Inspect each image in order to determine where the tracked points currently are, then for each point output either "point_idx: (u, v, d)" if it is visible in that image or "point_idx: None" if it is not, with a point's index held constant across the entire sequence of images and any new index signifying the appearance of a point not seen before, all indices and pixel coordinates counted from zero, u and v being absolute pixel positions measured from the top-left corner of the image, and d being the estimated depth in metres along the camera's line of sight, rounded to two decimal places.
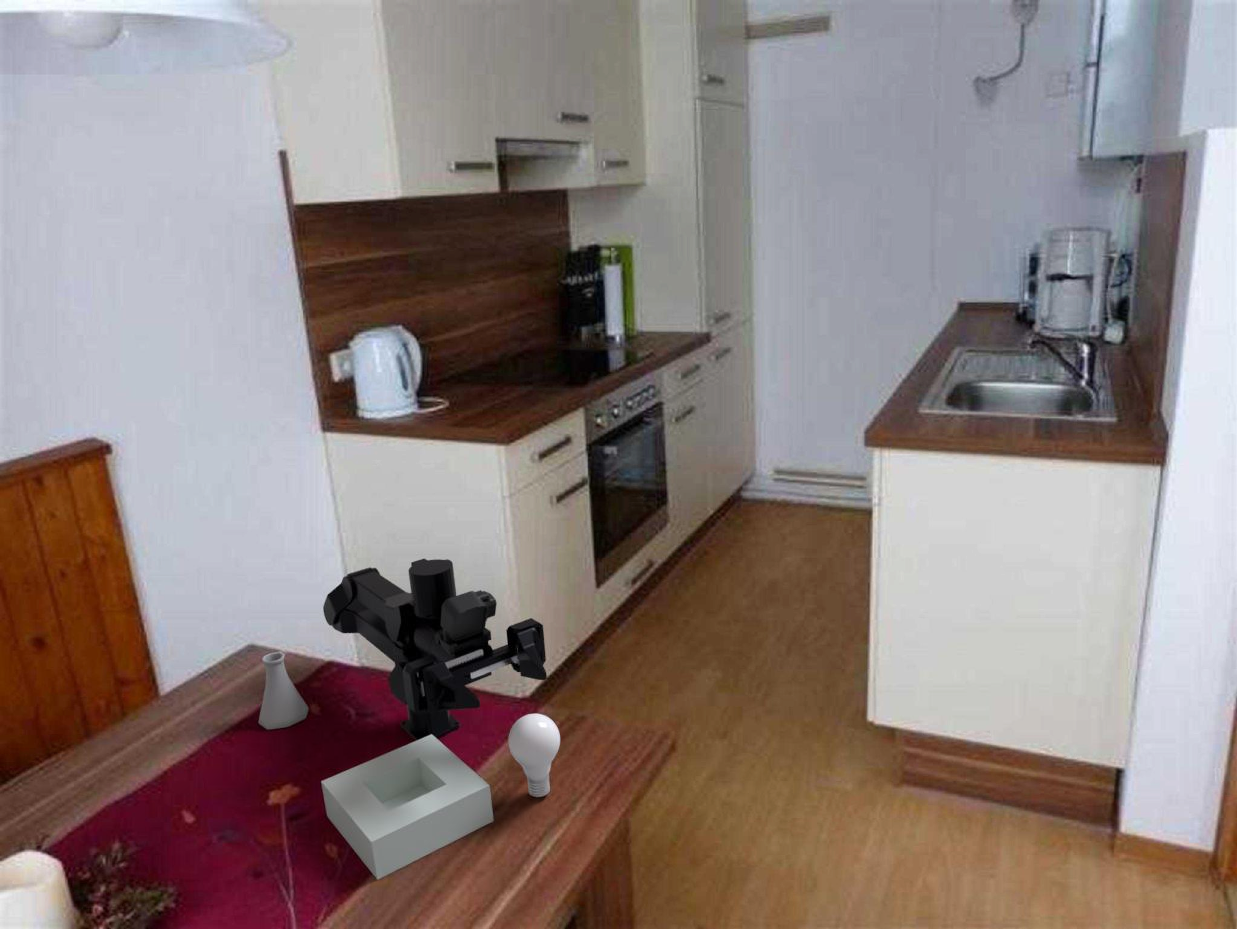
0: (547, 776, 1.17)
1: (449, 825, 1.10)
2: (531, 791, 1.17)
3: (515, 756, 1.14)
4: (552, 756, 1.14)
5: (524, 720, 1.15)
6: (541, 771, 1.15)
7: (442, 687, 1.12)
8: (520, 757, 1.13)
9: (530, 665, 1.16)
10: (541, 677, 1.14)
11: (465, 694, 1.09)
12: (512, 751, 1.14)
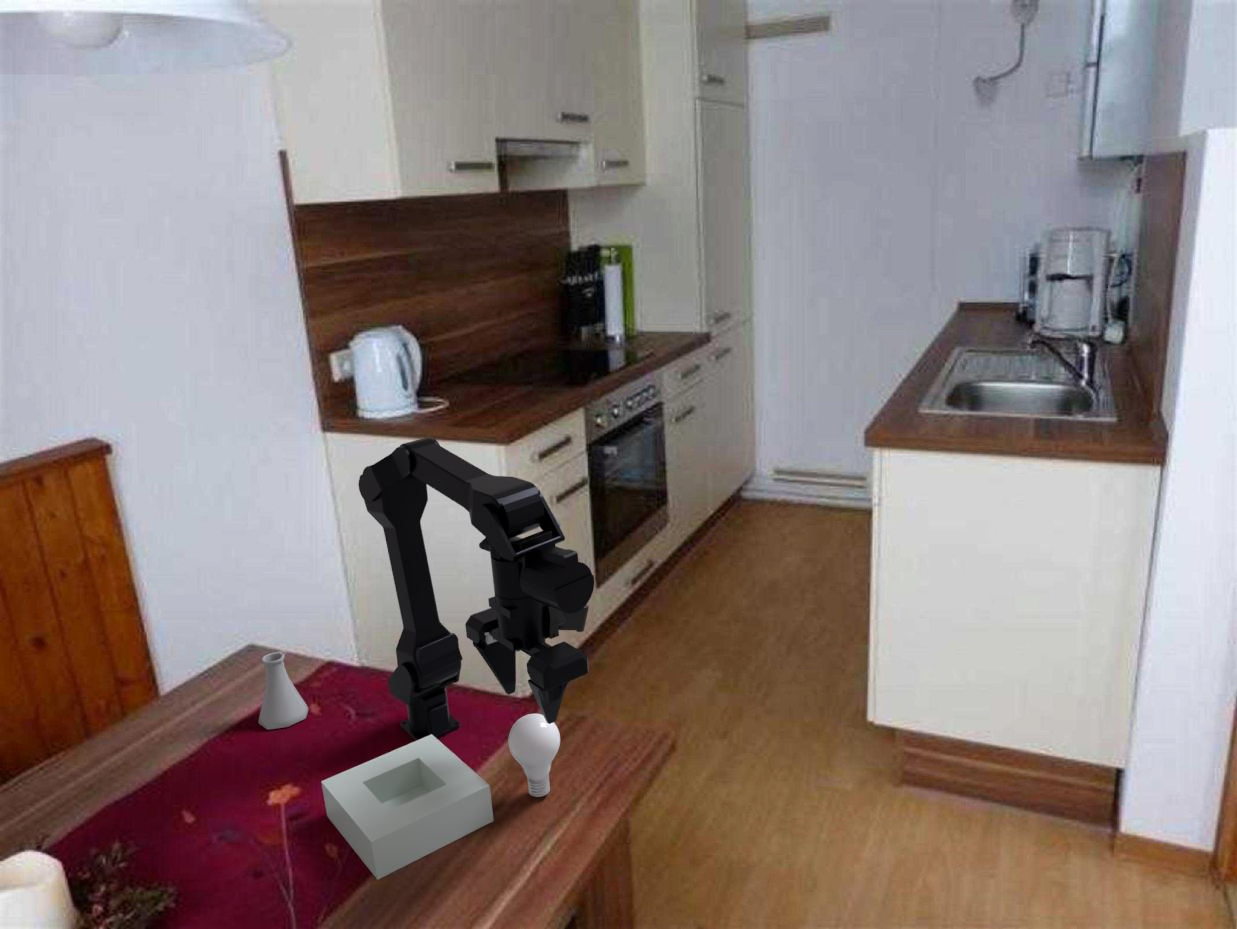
0: (547, 776, 1.17)
1: (449, 825, 1.10)
2: (531, 791, 1.17)
3: (515, 756, 1.14)
4: (552, 756, 1.14)
5: (524, 720, 1.15)
6: (541, 771, 1.15)
7: None
8: (520, 757, 1.13)
9: (508, 667, 1.17)
10: (508, 690, 1.17)
11: (558, 709, 1.10)
12: (512, 751, 1.14)
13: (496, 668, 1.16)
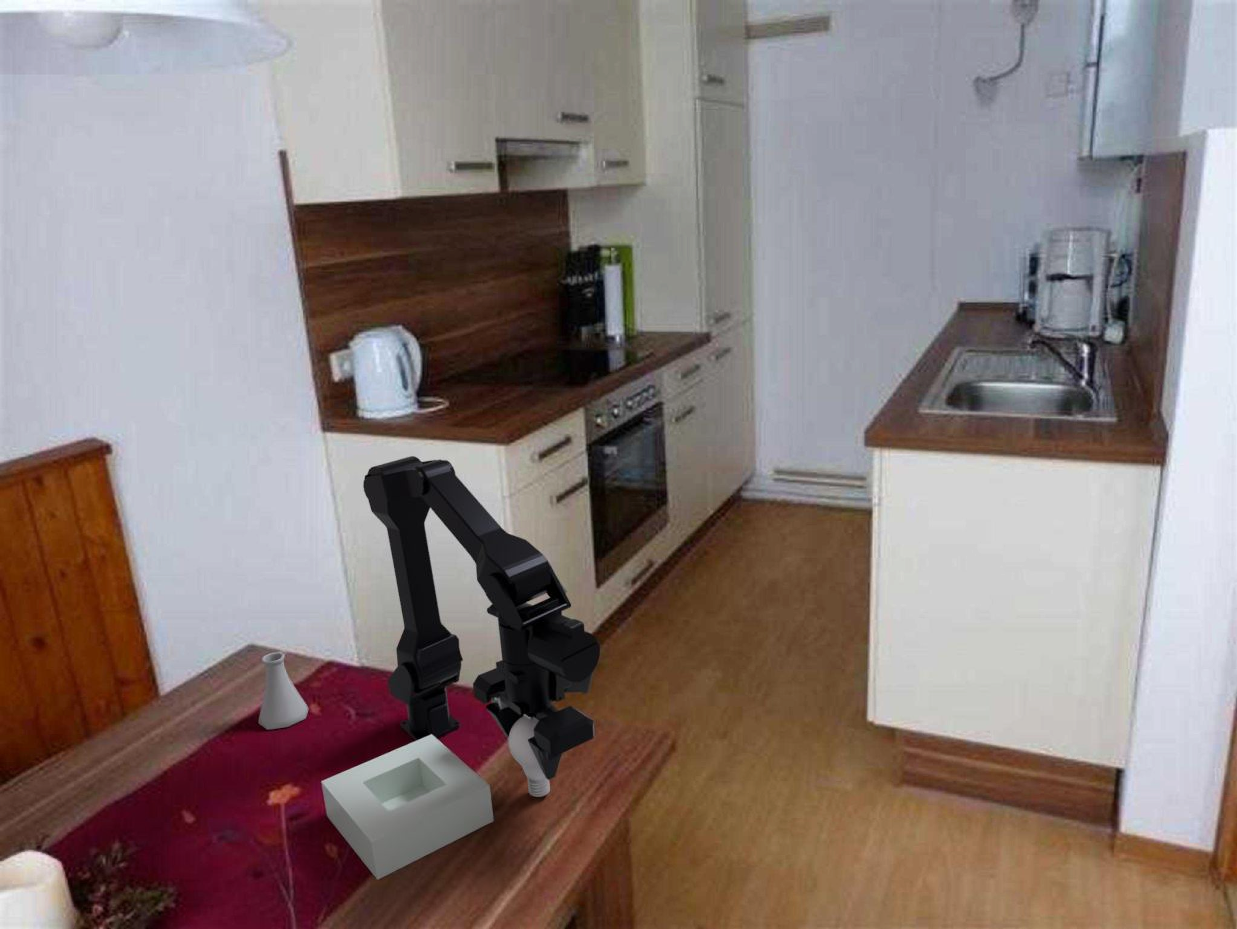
0: None
1: (449, 825, 1.10)
2: (531, 791, 1.17)
3: (515, 756, 1.14)
4: None
5: (524, 720, 1.15)
6: (541, 771, 1.15)
7: None
8: (520, 757, 1.13)
9: None
10: None
11: (557, 765, 1.14)
12: (512, 751, 1.14)
13: (509, 732, 1.17)
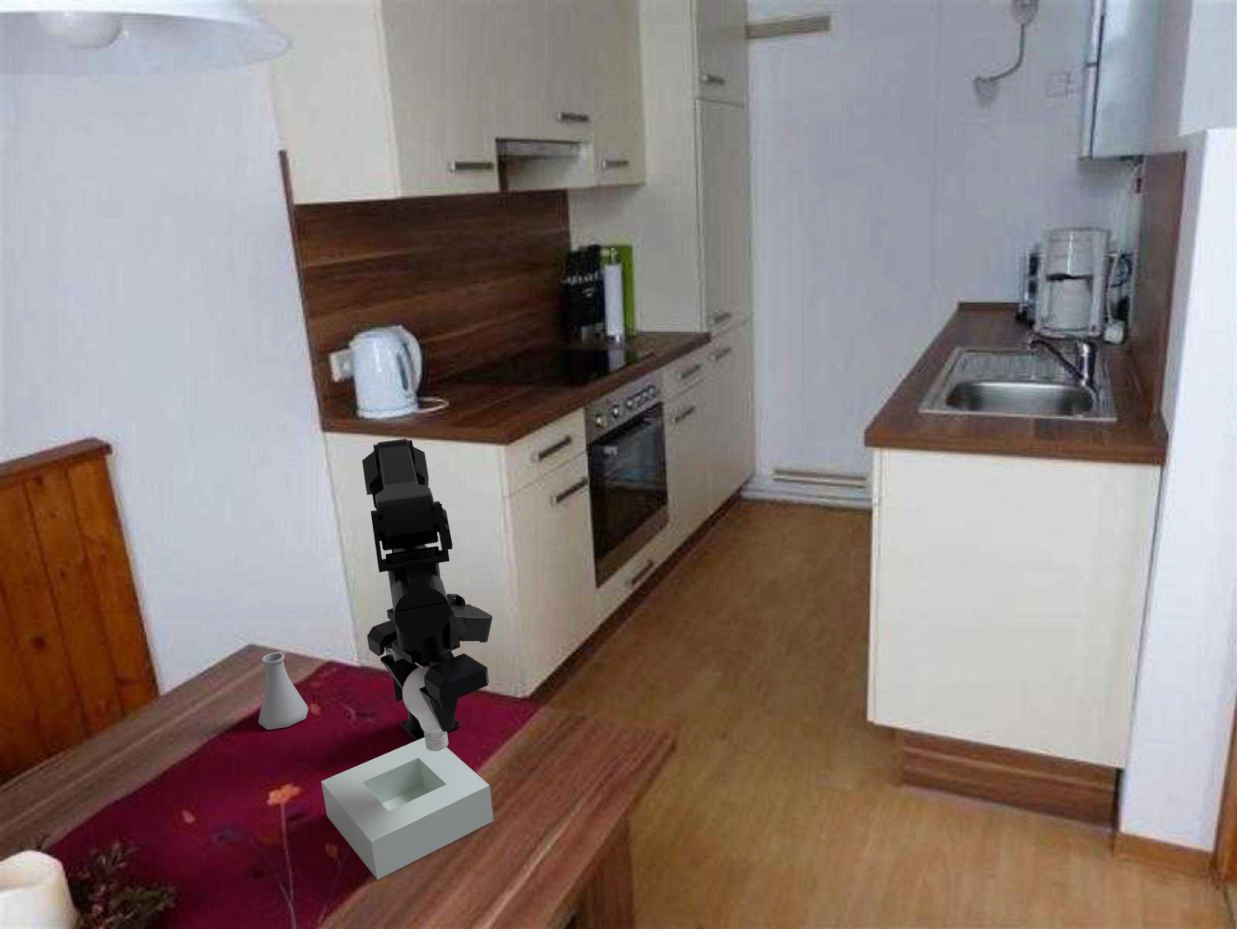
0: None
1: (449, 825, 1.10)
2: (428, 745, 1.12)
3: (409, 708, 1.09)
4: None
5: (418, 670, 1.10)
6: (437, 724, 1.10)
7: None
8: (414, 709, 1.09)
9: None
10: None
11: (453, 716, 1.09)
12: (405, 703, 1.09)
13: None
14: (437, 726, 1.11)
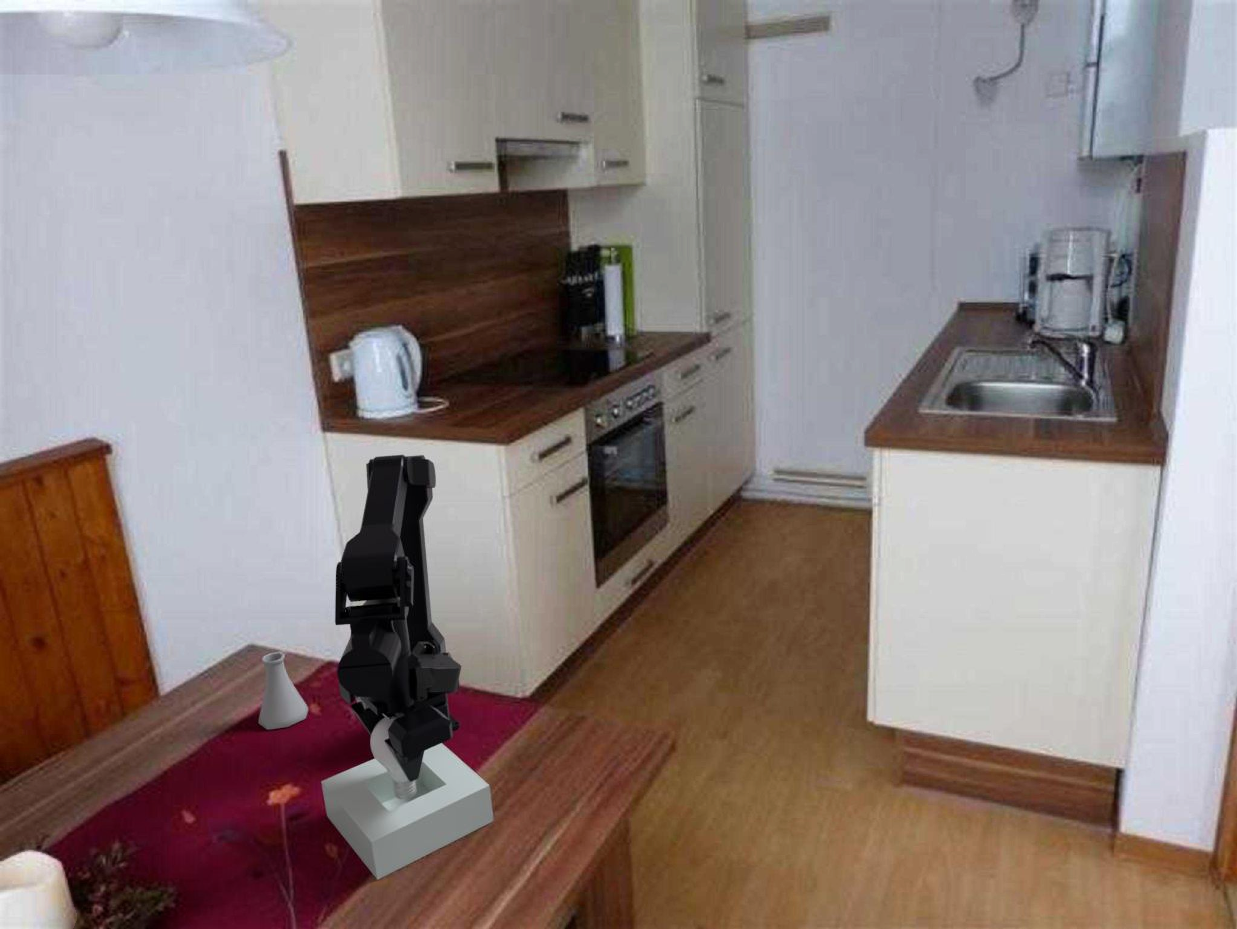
0: None
1: (449, 825, 1.10)
2: (396, 793, 1.13)
3: (376, 757, 1.10)
4: None
5: (385, 720, 1.11)
6: None
7: None
8: (380, 759, 1.10)
9: None
10: None
11: (420, 767, 1.10)
12: (373, 752, 1.10)
13: None
14: (404, 775, 1.11)
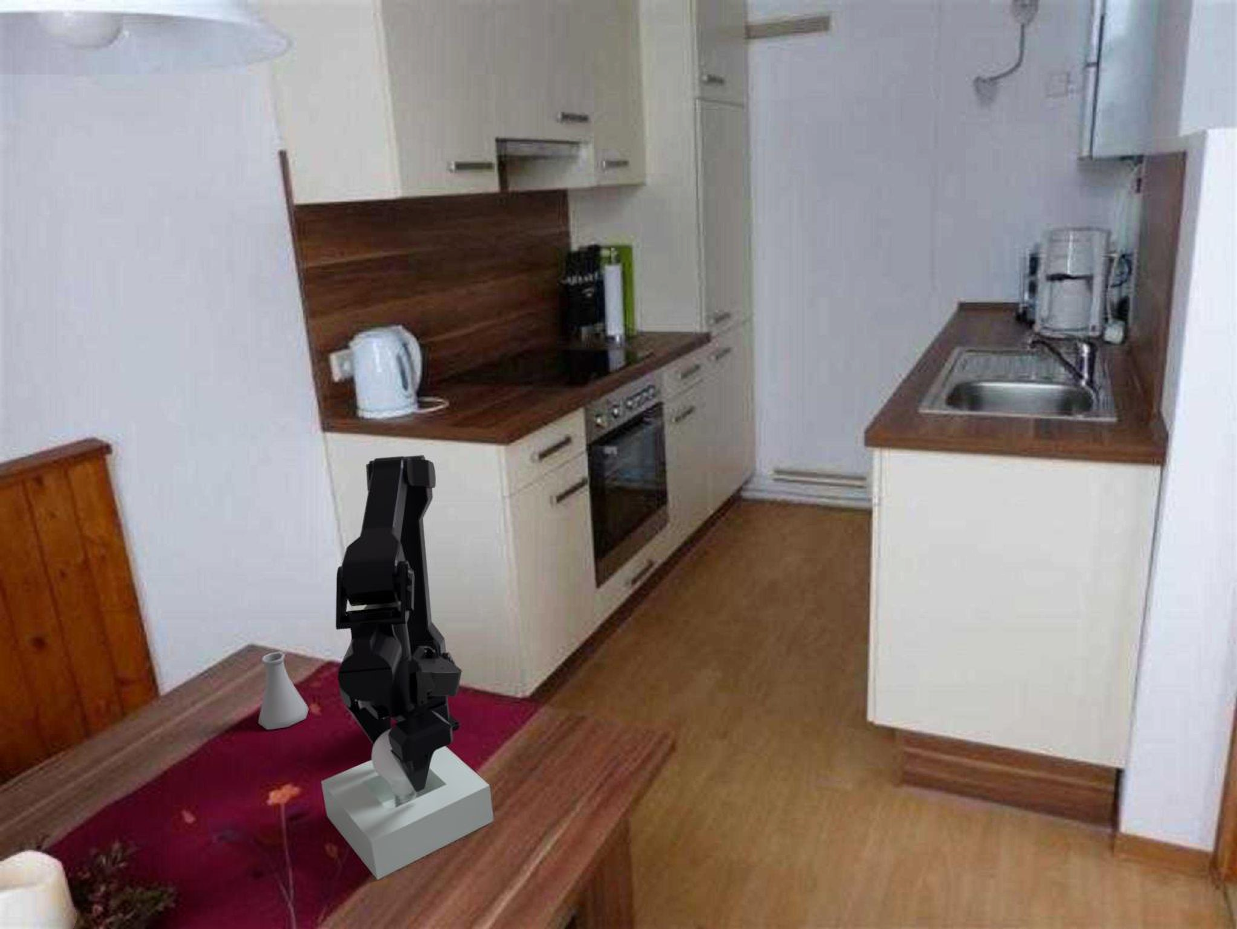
0: (413, 791, 1.14)
1: (449, 825, 1.10)
2: (397, 806, 1.14)
3: (377, 771, 1.11)
4: None
5: (386, 734, 1.12)
6: (406, 786, 1.12)
7: None
8: (382, 772, 1.10)
9: (382, 731, 1.16)
10: None
11: (426, 777, 1.09)
12: (374, 766, 1.11)
13: (369, 732, 1.15)
14: (405, 788, 1.12)
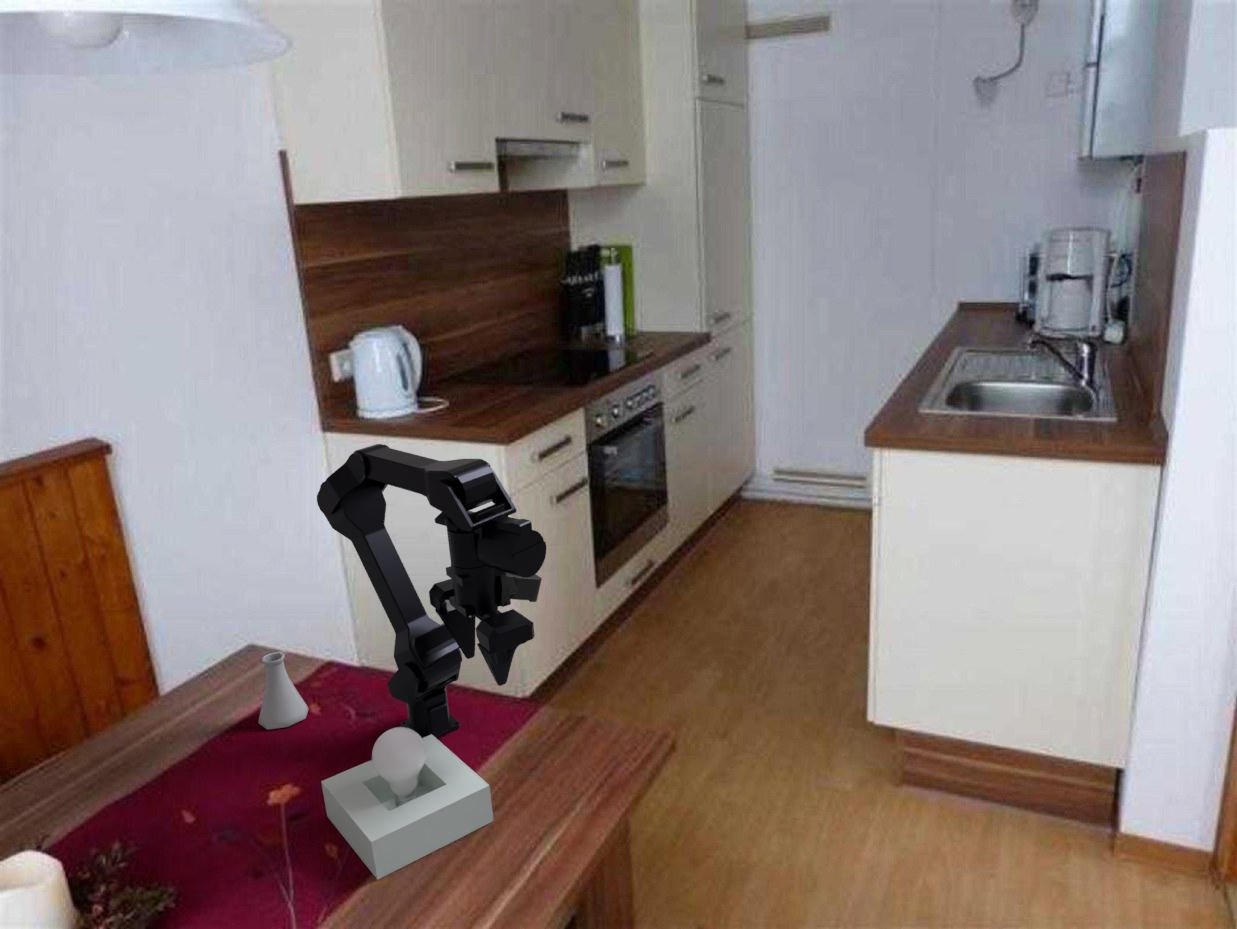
0: (413, 791, 1.14)
1: (449, 825, 1.10)
2: None
3: (377, 771, 1.11)
4: (416, 771, 1.11)
5: (387, 734, 1.12)
6: (406, 786, 1.12)
7: None
8: (382, 773, 1.10)
9: (467, 633, 1.26)
10: (468, 654, 1.26)
11: (508, 672, 1.18)
12: (374, 766, 1.11)
13: (456, 633, 1.25)
14: (406, 789, 1.12)
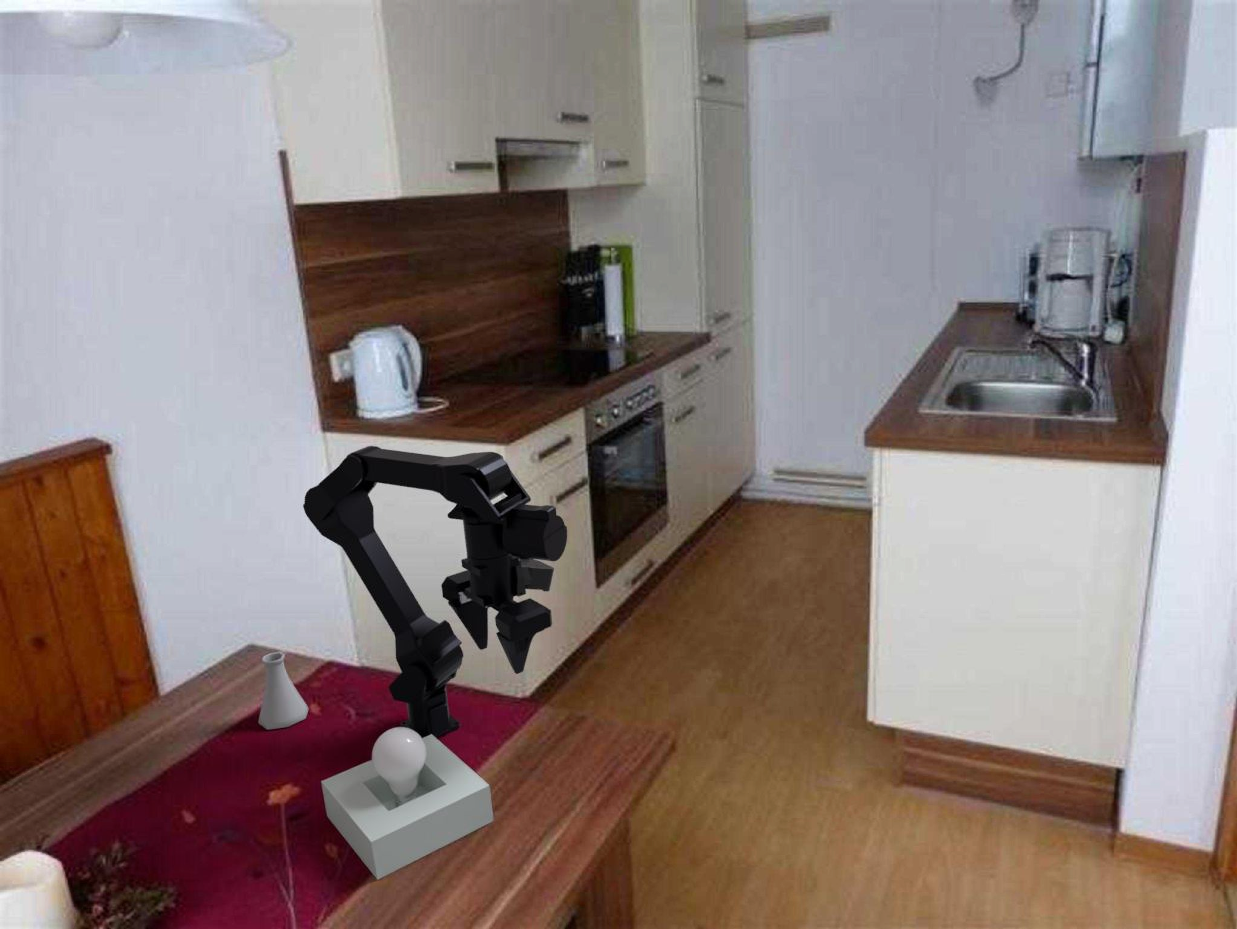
0: (413, 791, 1.14)
1: (449, 825, 1.10)
2: None
3: (377, 771, 1.11)
4: (416, 771, 1.11)
5: (387, 734, 1.12)
6: (406, 786, 1.12)
7: None
8: (382, 773, 1.10)
9: (480, 625, 1.28)
10: (481, 645, 1.28)
11: (525, 660, 1.21)
12: (374, 766, 1.11)
13: (469, 625, 1.27)
14: (406, 789, 1.12)
